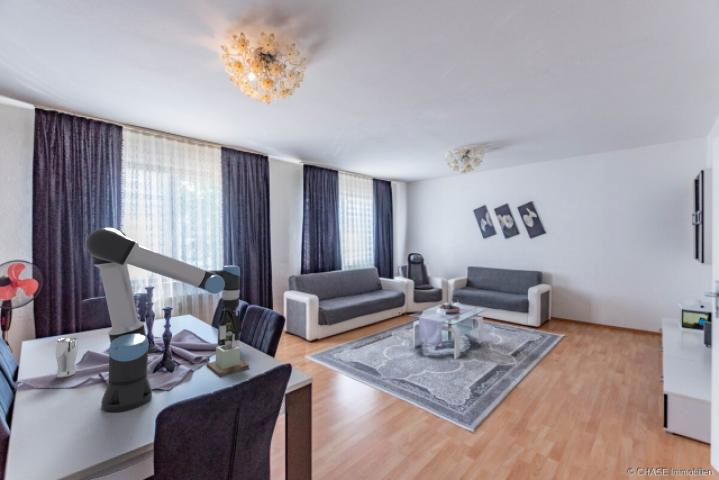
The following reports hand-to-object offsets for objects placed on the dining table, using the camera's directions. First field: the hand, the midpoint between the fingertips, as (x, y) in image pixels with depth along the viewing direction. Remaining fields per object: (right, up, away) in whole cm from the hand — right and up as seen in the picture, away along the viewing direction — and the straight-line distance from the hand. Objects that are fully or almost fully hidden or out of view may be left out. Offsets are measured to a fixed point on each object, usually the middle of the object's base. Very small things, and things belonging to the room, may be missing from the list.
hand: (228, 342), depth 150 cm
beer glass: (-64, -9, -15) cm, 66 cm away
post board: (-1, -12, 0) cm, 12 cm away
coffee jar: (-12, -11, +25) cm, 29 cm away
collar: (-1, -10, 0) cm, 10 cm away
